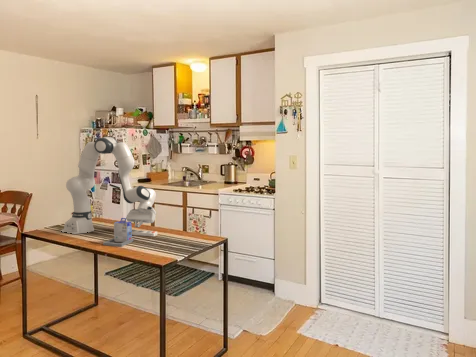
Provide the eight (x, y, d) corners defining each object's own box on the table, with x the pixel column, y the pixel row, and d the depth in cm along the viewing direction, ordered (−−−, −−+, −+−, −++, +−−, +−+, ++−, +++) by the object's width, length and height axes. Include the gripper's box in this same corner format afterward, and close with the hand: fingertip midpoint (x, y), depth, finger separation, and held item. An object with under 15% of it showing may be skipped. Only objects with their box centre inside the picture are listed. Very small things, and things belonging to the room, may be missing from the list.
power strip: (124, 234, 260) (124, 230, 260) (128, 232, 265) (128, 228, 265) (153, 236, 254) (153, 232, 254) (157, 234, 259) (157, 231, 258)
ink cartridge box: (132, 240, 244) (131, 218, 243) (127, 242, 239) (126, 219, 237) (119, 239, 247) (118, 217, 246) (114, 241, 242) (113, 219, 240)
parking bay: (103, 245, 234) (103, 242, 234) (115, 239, 246) (115, 237, 246) (121, 246, 231) (121, 244, 230) (133, 241, 242) (133, 238, 242)
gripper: (128, 206, 267) (121, 223, 259) (155, 207, 261) (148, 225, 253) (132, 211, 272) (125, 228, 263) (158, 213, 266) (152, 230, 257)
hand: (136, 226), depth 258 cm, fingers closed
